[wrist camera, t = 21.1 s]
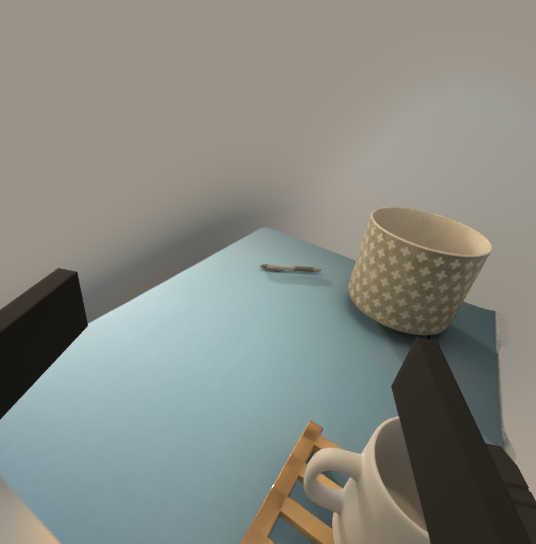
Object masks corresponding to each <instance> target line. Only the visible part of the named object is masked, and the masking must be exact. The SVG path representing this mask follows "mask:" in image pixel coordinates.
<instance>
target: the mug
mask: <svg viewBox="0 0 536 544" xmlns="http://www.w3.org/2000/svg"><path fill="white" fill-rule="evenodd" d="M324 471H336V472H340V473H342V474H345V475H347V476H349V477H350V478H349V480H348V481H347V483H346V485H345V487H344V488H343V489H334V488H331V487H328V486H325V485H323V484H321V483H320V482H319V481H318V480H317V476H318V475H319V474H320V473H322V472H324ZM304 490H305V493H306V496H307V497H308V498H309V499H310V500H311V501H313V502H314V503H315V504H317V505H319V506H321V507H323V508H326V509H328V510H331V511H333V512H334V514H333V523H332V530H333V539H334V544H431V543H430V539H429V535H428V531H427V527H426V523H425V519H424V515H423V511H422V507H421V503H420V499H419V495H418V491H417V487H416V483H415V479H414V475H413V471H412V467H411V463H410V459H409V455H408V451H407V447H406V443H405V439H404V435H403V431H402V427H401V423H400V419H399V416H398V417H394V418H391V419H389V420H387V421H385V422H384V423H382V424H381V425H380V426H379V427H378V428H377V429H376V431H375V432H374V434H373V435H372V437H371V439H370V440H369V442H368V444H367V445H366V447H365V448H364V450H363V452H362V454H357V453H354V452H350V451H346V450H342V449H338V448H324V449H321V450H319V451H318V452H316V453H315V454H314V455H313V457H312V458H311V460H310V461H309V463H308V465H307V467H306V471H305V474H304Z"/></svg>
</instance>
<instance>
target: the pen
mask: <svg viewBox="0 0 536 544" xmlns="http://www.w3.org/2000/svg"><path fill="white" fill-rule="evenodd" d="M260 267H262V268H263V269H264V270H266V271H274V270H278V269H279V270H280V271H284V270H293V271H307V272H318V271H321V269H319V268H314V267H301V266H283V265H268V264H263V265H260Z"/></svg>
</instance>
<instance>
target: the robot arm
mask: <svg viewBox="0 0 536 544" xmlns="http://www.w3.org/2000/svg"><path fill="white" fill-rule="evenodd" d="M87 326H88V323H87V318H86V313H85V308H84V303H83V298H82V293H81V289H80V283H79V279H78V273H77V272H75V271H70V270H65V269H60V268H58V269H56V270H55V271H54V272H52V273H51V274H50V275H48V276H47V277H45V278H44V279H42V280H41V281H40V282H38V283H37V284H35V285H34V286H33V287H31V288H30V289H29V290H27V291H26V292H25V293H23V294H22V295H20V296H19V297H17V298H16V299H15V300H13V301H12V302H11V303H9V304H8V305H6V306H5V307H4V308H2V309H1V310H0V419H1V418H2V417H3V416H4V415H5V414H6V413H7V412H8V411H9V410H10V409H11V408H12V406H13V405H14V404H15V403H16V402H17V401H18V400H19V399H20V398H21V397H22V396H23V395H24V394H25V393H26V391H27V390H28V389H29V388H30V387H31V386H32V385H33V384H34V383H35V382H36V381H37V380H38V379H39V378H40V377H41V375H42V374H43V373H44V372H45V371H46V370H47V369H48V368H49V367H50V366H51V365H52V364H53V363H54V362H55V361H56V359H57V358H58V357H59V356H60V355H61V354H62V353H63V352H64V351H65V350H66V349H67V348H68V347H69V346H70V344H71V343H72V342H73V341H74V340H75V339H76V338H77V337H78V336H79V335H80V334H81V333H82V332H83V331H84V330H85V328H86V327H87ZM391 387H392V391H393V395H394V399H395V403H396V407H397V411H398V415H399V419H400V423H401V427H402V431H403V435H404V439H405V443H406V447H407V451H408V455H409V459H410V463H411V467H412V471H413V475H414V479H415V483H416V487H417V491H418V495H419V499H420V503H421V507H422V511H423V515H424V519H425V523H426V527H427V531H428V535H429V539H430V543H431V544H536V501H535V499H534V497H533V495H532V493H531V492H529V490H528V488H529V487H528V485H527V483H526V482H525V480H524V478H523V476H522V474H521V472H520V470H519V468H518V466H517V465H516V464H515V463H514V462H513V460H512V459H511V458H510V457H509V456H508V455H507V453H506V452H505V451H504V450H503V449H502V448H501V447H500V446H495V445H490V444H485V442H484V440H483V438H482V435H481V433H480V431H479V429H478V427H477V425H476V423H475V421H474V418H473V416H472V414H471V412H470V410H469V408H468V406H467V404H466V401H465V399H464V397H463V395H462V393H461V391H460V389H459V387H458V384H457V382H456V380H455V378H454V376H453V374H452V372H451V370H450V367H449V365H448V363H447V361H446V359H445V357H444V355H443V353H442V350H441V348H440V346H439V344H438V342H437V341H433V340H428V339H423V338H418V337H416V339H415V341H414V343H413V345H412V347H411V349H410V351H409V353H408V355H407V357H406V359H405V361H404V362H403V364H402V366H401V368H400V370H399V372H398V374H397V376H396V378H395V380H394V382H393V384H392V386H391Z"/></svg>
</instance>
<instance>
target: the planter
mask: <svg viewBox="0 0 536 544" xmlns="http://www.w3.org/2000/svg"><path fill="white" fill-rule="evenodd" d="M491 251H492V245H491V243H490V242H489V241H488V240H487V239H486V238H485V237H484V236H483V235H482V234H480V233H479V232H477V231H475V230H474V229H472V228H470V227H468V226H466V225H464V224H462V223H459V222H457V221H454V220H452V219H449V218H446V217H443V216H440V215H437V214H433V213H429V212H425V211H421V210H416V209H410V208H402V207H384V208H379V209H376V210H374V211H373V212H372V214H371V216H370V220H369V223H368V226H367V229H366V232H365V235H364V238H363V241H362V245H361V248H360V251H359V254H358V257H357V260H356V263H355V266H354V269H353V272H352V275H351V279H350V282H349V285H348V294H349V296H350V298H351V300H352V302H353V303H354V304H355V305H356V307H357V308H358V309H359V310H361V311H362V312H363V313H364V314H365V315H367V316H368V317H370V318H371V319H373V320H375V321H376V322H378V323H380V324H382V325H384V326H386V327H389V328H391V329H394V330H397V331H400V332H404V333H408V334H414V335H434V334H438V333H441V332H443V331H445V330H446V329H447V328H448V327H449V325H450V324H451V322H452V320H453V318H454V317H455V315H456V313H457V311H458V309H459V308H460V306H461V304H462V302H463V300H464V299H465V297H466V295H467V293H468V292H469V290H470V288H471V286H472V285H473V283H474V281H475V279H476V277H477V276H478V274H479V272H480V270H481V269H482V267H483V265H484V263H485V261H486V260H487V258H488V256H489V254H490V253H491Z"/></svg>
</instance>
